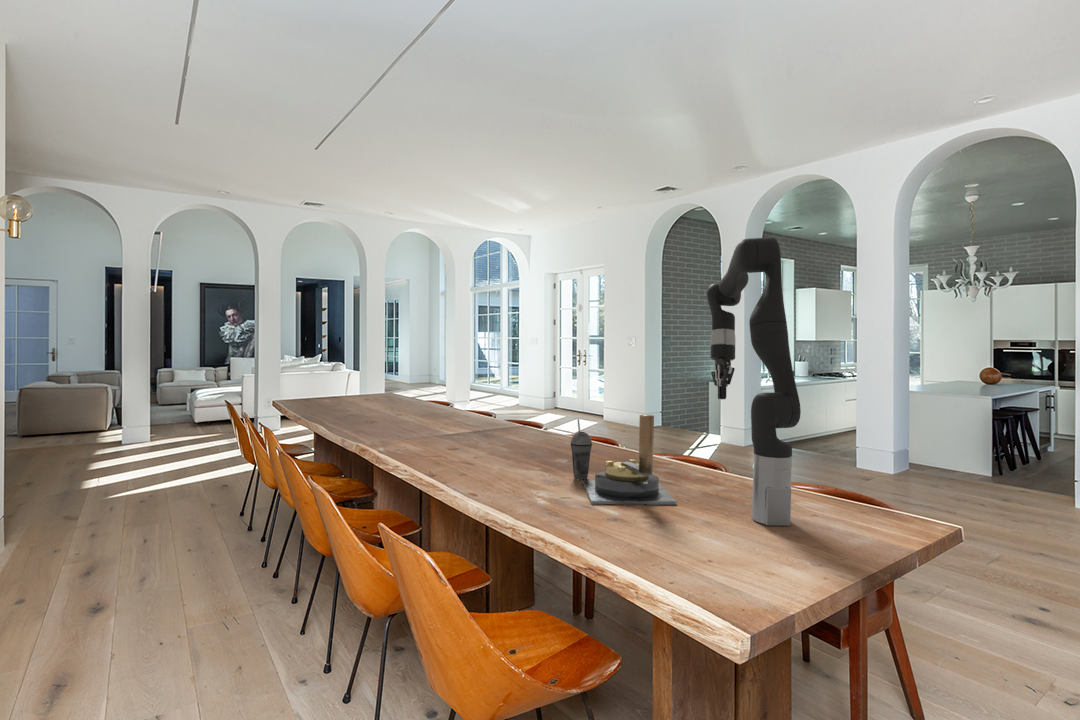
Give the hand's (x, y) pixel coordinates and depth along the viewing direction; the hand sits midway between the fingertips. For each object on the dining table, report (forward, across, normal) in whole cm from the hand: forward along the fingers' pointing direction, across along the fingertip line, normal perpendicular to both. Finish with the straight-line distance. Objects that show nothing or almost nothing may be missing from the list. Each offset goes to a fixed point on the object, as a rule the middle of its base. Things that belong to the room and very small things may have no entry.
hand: (722, 399), depth 185 cm
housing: (+31, 0, -29) cm, 42 cm away
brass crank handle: (+26, +4, -29) cm, 39 cm away
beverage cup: (+28, -20, -40) cm, 53 cm away
